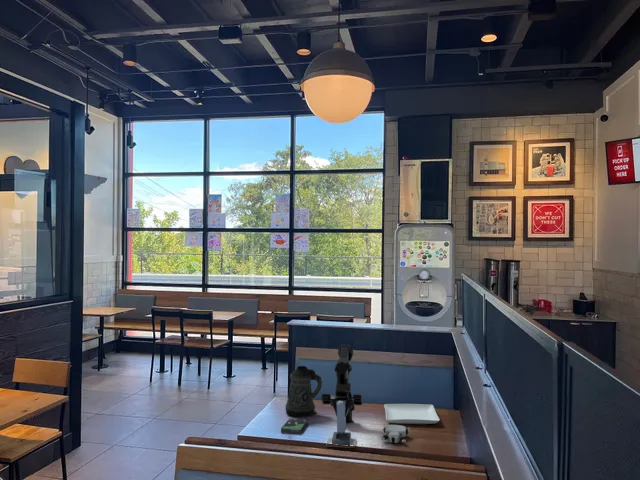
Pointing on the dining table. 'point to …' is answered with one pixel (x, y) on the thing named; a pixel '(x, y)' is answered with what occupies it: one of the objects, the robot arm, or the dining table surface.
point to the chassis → (342, 439)
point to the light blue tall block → (341, 416)
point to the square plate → (411, 414)
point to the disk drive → (294, 426)
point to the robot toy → (395, 433)
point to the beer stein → (302, 392)
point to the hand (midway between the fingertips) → (341, 416)
